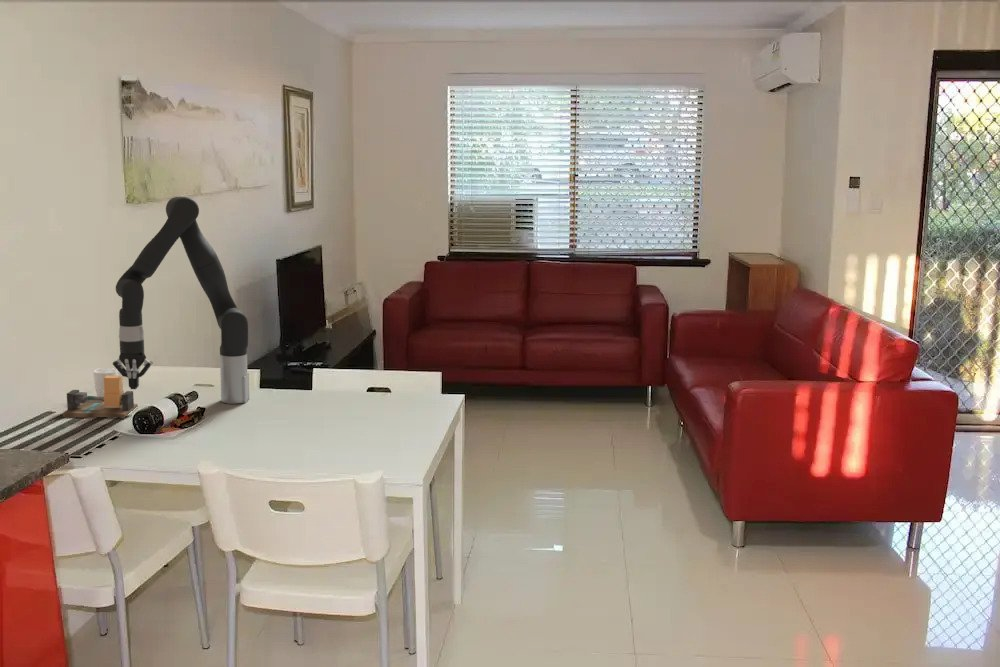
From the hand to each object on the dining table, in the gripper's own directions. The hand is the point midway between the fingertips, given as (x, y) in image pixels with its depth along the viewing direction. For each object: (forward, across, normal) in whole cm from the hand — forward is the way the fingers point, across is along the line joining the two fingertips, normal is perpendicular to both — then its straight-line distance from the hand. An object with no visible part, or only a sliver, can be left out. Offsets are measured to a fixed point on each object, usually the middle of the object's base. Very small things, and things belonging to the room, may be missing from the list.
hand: (133, 388), depth 302 cm
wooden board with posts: (+9, +11, 0) cm, 14 cm away
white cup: (+9, +16, -18) cm, 26 cm away
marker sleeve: (+6, +7, 0) cm, 9 cm away
